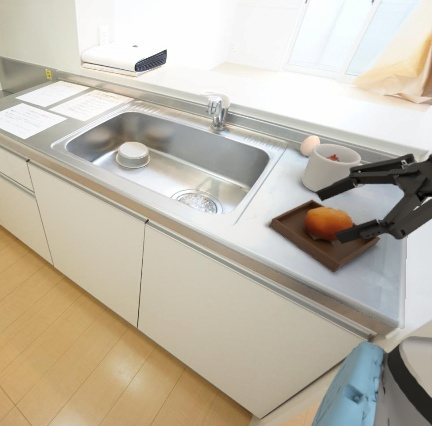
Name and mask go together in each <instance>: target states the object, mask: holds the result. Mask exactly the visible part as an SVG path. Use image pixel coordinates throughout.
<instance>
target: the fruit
mask: <svg viewBox="0 0 432 426" xmlns="http://www.w3.org/2000/svg"><path fill="white" fill-rule="evenodd" d="M353 223H354V222H353V219H352V217H351V216H350V215H349V214H348V213H347V211H343V210H341V209H336V208H334V207H332V206H331V207H330V206H324V207H319V208H315V209H312V210H310V211H308V213H307V215H306V218H305V228H306V231H307V233H308V234H309V235H310V236H311V237H312V238H313V239H314V240H316V239H324V240H327V241H329V242H331V243H332V244H333V245H334V241H336V240H338V238H337V237H336V236H335V232H338V231H341V230H344V229H347V228H350V227H352V225H353Z"/></svg>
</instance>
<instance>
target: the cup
mask: <svg viewBox="0 0 432 426" xmlns="http://www.w3.org/2000/svg"><path fill="white" fill-rule="evenodd" d="M361 161H362V157H361V155H360V154H359V153H358V152H357V151H355V150H354V149H352V148H349V147H347V146H343V145H340V144H334V143H320V144H319V145H316V146H315V147H314V148H313V149H312V152H311V154H310V156H308V160H307V162H306V166H305V169H304V171H303V175H302V178H301V179H302V181H301V182H302V184H303V186H304V187H306V188H307V189H308V190H310V191H312V192H314V193H316V191H318V190H321V189H323V188H325V187H328V186H330V185H332V184H333V183H334V182H336V181H339V180H341V179H343V178H346V177H348V176H349V174H350V170H349V169H350V168H351V167H355V166H360V165H364V164H363V163H361ZM365 185H366V184H358V186H357V187H356V186H355V185H354V186H355V187H356V188H355V189H360V188H363V186H365Z"/></svg>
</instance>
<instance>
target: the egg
mask: <svg viewBox="0 0 432 426" xmlns="http://www.w3.org/2000/svg"><path fill="white" fill-rule="evenodd" d="M319 144H321V140H320V138H319V136H317V135H316V134H315V135H309V136H308V137H306V138H304V140H303V141H302V142H301V145H300V148H299V149H300V150H299V151H300V153H301V154H302V155H303V156H305V157H310V154H311V152H312V149H313V148H314V147H315V146H316V145H319Z"/></svg>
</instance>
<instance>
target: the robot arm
mask: <svg viewBox="0 0 432 426" xmlns="http://www.w3.org/2000/svg"><path fill="white" fill-rule="evenodd" d="M349 170H350V174H349V176H348V177H346V178H343V179H341V180H339V181H336V182H334V183H333V184H332V185H330V186H328V187H325V188H323V189H321V190H318V191H316V192H315V195H317V197H318V198H319V200H320V201H321V202H324V201H327V200H329V199H331V198H334V197H336V196H338V195H341V194H344V193H346V192H349V191H351V190H353V189H357V188H356V187H357V186H358V184H365V185H392V186H395V187H398V188H399V189H400V191H402V192H403V196H402V197H401V199H400V200H399V201H398V202H397V203H396V204H395V205H394V206H393V207H392V208H391V210H390V211H389V212H387V214H386V215H385V216H384V217H383V219H378V220H377V218H374V219H371V220H369V221H366V222H363V223H359V224H356V226H353V227H350V228H347V229H344V230H341V231H338V232H335V236H336V237H337V238H338V240H339V241H340V242H341V244H343V243H347V242H350V241H353V240H356V239H360V238H363V239H368V238H372V237H375V236H377V237H379V236H382V235H385V234H387V235H390V236H392V237H393V238H394V239H395V240H397V241H400V240H403V239H405V238H406V237H408V236H409V235H410V234H412V233H414V232H415V231H417V230H418V229H419V228H421V227H422V226H423V225H425V224H427V223H428V222H429V221H431V220H432V153H430V154H429V155H428V158H427V159H425V160H423V161H419V162H417V159H416V158H415V156H414V154H413V153H406V154H403V155H402V156H399V157H396V158H390V159H386V160H385V159H384V160H380V161H375V162H370V163H365V164H363V165H360V166H355V167H351V168H350V169H349ZM354 185H355V186H356V187H355V186H354ZM428 198H430V199H428ZM427 199H428V200H427ZM426 200H427V201H426ZM310 426H432V337H431V336H422V335H421V336H420V335H410V336H407V337H405V338H404V339H402V340H401V341H400V342H399V343H398V344H397V345H396V346H395V347H394V348H392V350H390V351H389V352H388V351H386V350H385V349H384V348H383V347H382V346H380V345H378V344H374V343H372V342H369V341H361V342H359V343H358V344H357V346H355V347H354V348H352V349H351V351H350V352H349V353H348V355H347V356H346V357H345V359H344V360H343V362H342V364H341V365H340V367H339V368H338V370H337V372H336V374H335V375H334V377H333V379H332V381H331V382H330V383H329V386H328V388H327V390H326V392H325V393H324V396H323V398H322V400H321V402H320V404H319V406H318V408H317V410H316V412H315V415H314V417H313V420H312V422H311V425H310Z"/></svg>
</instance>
